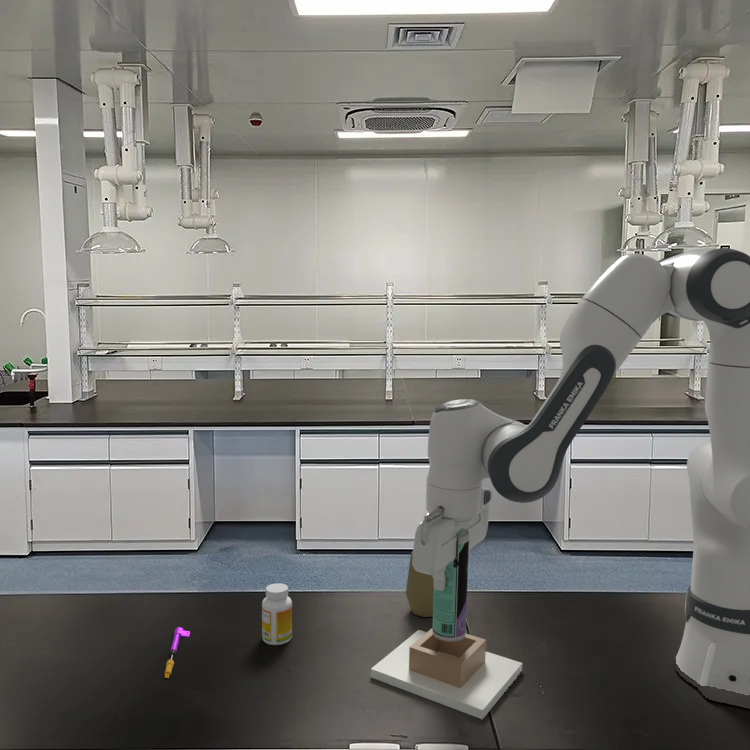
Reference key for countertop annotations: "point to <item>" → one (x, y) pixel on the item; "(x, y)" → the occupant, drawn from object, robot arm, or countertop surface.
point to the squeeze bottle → (420, 591)
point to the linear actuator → (175, 648)
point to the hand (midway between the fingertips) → (450, 581)
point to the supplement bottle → (277, 615)
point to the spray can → (453, 595)
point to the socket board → (449, 672)
